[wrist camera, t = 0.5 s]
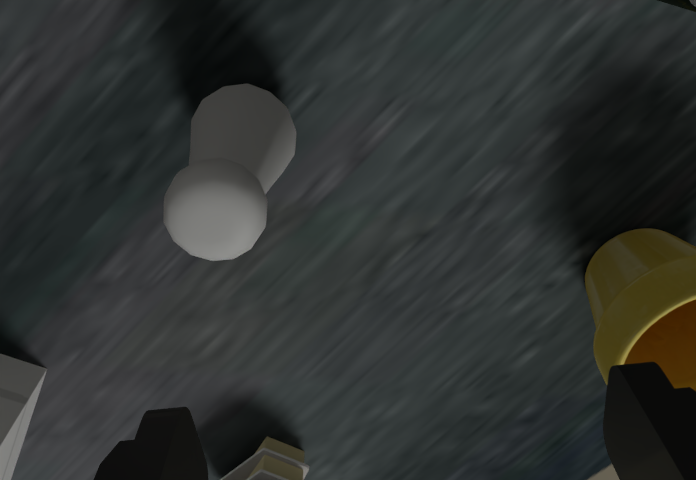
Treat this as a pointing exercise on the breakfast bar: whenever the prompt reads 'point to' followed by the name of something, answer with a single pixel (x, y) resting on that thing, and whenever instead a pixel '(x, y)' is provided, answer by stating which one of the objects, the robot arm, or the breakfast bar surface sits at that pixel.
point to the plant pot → (645, 303)
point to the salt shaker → (229, 172)
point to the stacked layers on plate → (271, 463)
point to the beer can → (682, 4)
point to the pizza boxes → (16, 407)
